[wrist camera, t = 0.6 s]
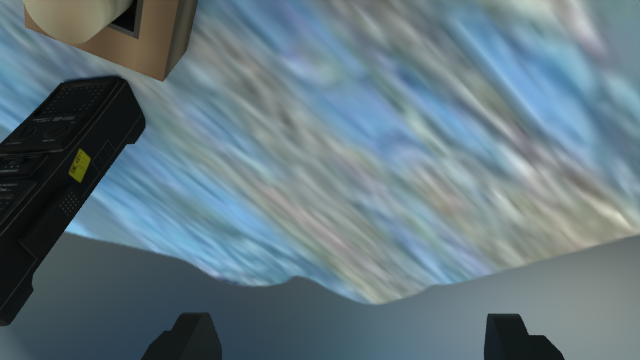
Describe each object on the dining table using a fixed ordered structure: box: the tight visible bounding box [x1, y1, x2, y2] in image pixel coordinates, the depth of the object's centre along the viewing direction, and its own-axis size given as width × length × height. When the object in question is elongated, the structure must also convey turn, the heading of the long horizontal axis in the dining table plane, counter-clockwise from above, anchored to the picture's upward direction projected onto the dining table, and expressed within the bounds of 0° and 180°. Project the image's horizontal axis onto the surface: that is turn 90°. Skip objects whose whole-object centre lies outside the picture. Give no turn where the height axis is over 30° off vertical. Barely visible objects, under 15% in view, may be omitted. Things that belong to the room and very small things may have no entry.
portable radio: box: [0, 78, 145, 326], centre depth 30 cm, size 8×6×25 cm
